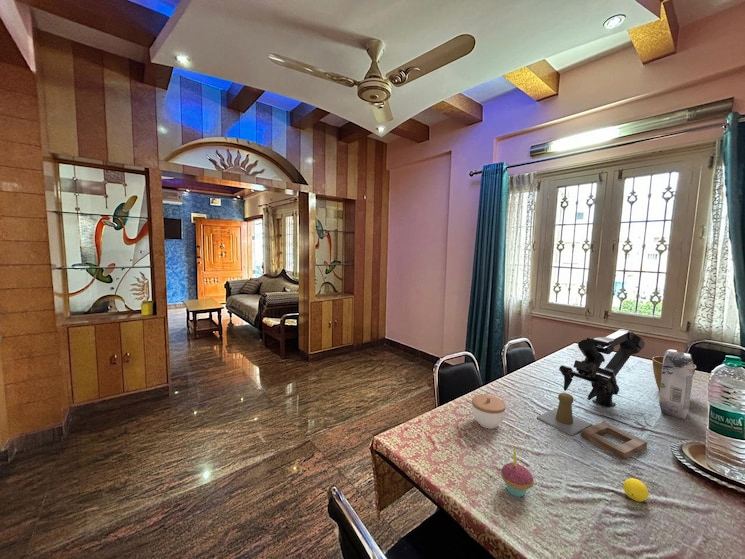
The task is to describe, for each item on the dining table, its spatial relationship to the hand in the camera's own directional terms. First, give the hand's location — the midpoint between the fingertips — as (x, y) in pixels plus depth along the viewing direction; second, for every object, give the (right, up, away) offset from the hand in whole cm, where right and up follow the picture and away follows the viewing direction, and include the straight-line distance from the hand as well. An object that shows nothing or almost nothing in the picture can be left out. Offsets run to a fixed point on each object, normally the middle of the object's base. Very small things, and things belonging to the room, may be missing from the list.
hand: (576, 394), depth 127 cm
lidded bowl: (-38, -10, -4) cm, 40 cm away
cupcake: (-43, -14, -38) cm, 58 cm away
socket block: (+3, -11, -16) cm, 20 cm away
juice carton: (+44, -9, +4) cm, 45 cm away
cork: (-7, -10, -3) cm, 12 cm away
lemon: (-10, -14, -41) cm, 44 cm away
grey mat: (-7, -10, -3) cm, 12 cm away
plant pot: (+59, -7, +20) cm, 62 cm away
